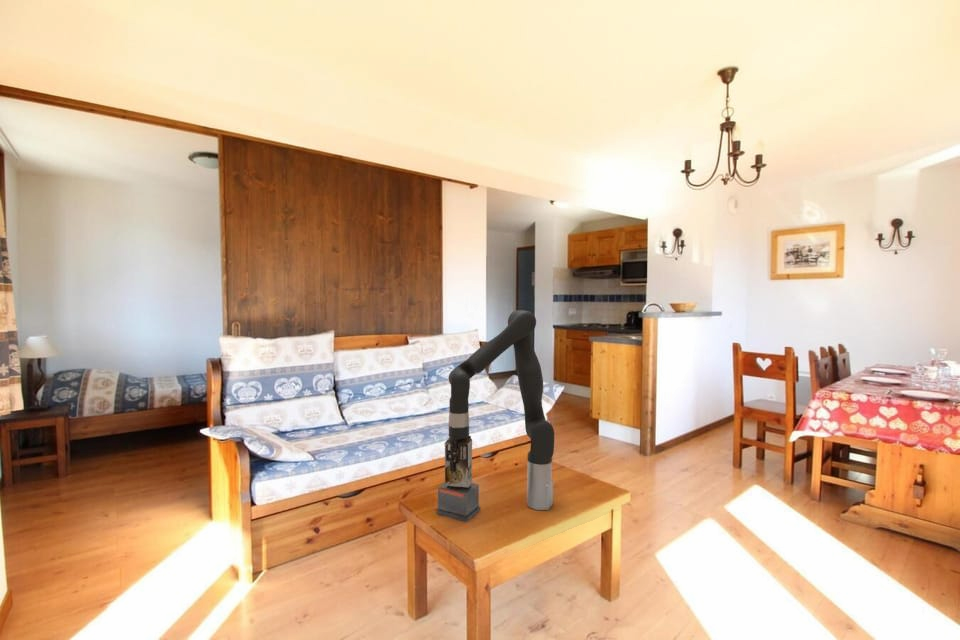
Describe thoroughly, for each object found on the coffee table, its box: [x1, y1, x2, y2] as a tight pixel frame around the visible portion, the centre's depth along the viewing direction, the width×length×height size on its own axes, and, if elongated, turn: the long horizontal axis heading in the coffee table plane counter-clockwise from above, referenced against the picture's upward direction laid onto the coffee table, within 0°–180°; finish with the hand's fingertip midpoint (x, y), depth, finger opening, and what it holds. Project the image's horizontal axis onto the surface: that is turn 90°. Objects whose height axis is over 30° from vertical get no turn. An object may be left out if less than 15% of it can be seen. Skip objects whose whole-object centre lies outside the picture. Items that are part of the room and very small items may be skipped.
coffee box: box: [444, 437, 473, 487], centre depth 165 cm, size 9×6×16 cm
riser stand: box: [435, 482, 481, 523], centre depth 166 cm, size 13×10×10 cm
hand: (458, 467), depth 165 cm, fingers open, 7 cm apart
